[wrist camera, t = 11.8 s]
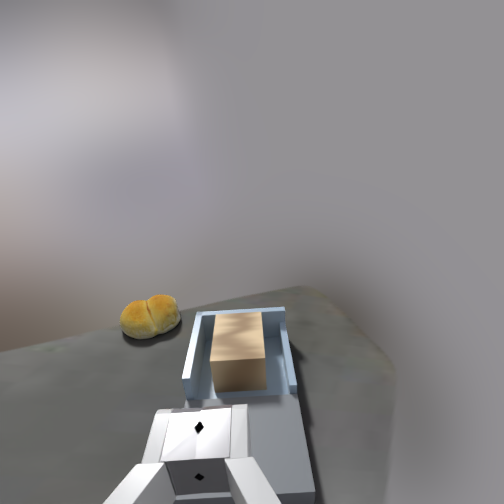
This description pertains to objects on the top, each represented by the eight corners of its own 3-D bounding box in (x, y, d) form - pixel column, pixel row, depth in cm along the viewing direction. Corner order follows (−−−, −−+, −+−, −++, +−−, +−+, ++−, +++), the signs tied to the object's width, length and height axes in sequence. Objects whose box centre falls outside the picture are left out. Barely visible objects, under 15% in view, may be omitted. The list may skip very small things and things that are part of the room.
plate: (170, 512, 25) (166, 500, 24) (188, 412, 33) (185, 400, 32) (314, 504, 25) (315, 491, 24) (297, 406, 33) (297, 393, 32)
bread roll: (122, 316, 49) (116, 296, 48) (176, 302, 52) (172, 282, 50) (122, 349, 42) (114, 327, 41) (184, 331, 45) (180, 310, 43)
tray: (189, 410, 33) (181, 378, 31) (201, 339, 43) (196, 312, 41) (296, 403, 33) (297, 371, 31) (284, 334, 43) (284, 306, 41)
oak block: (209, 361, 32) (215, 314, 39) (214, 392, 34) (219, 343, 41) (265, 358, 32) (261, 311, 39) (266, 389, 34) (262, 340, 41)
